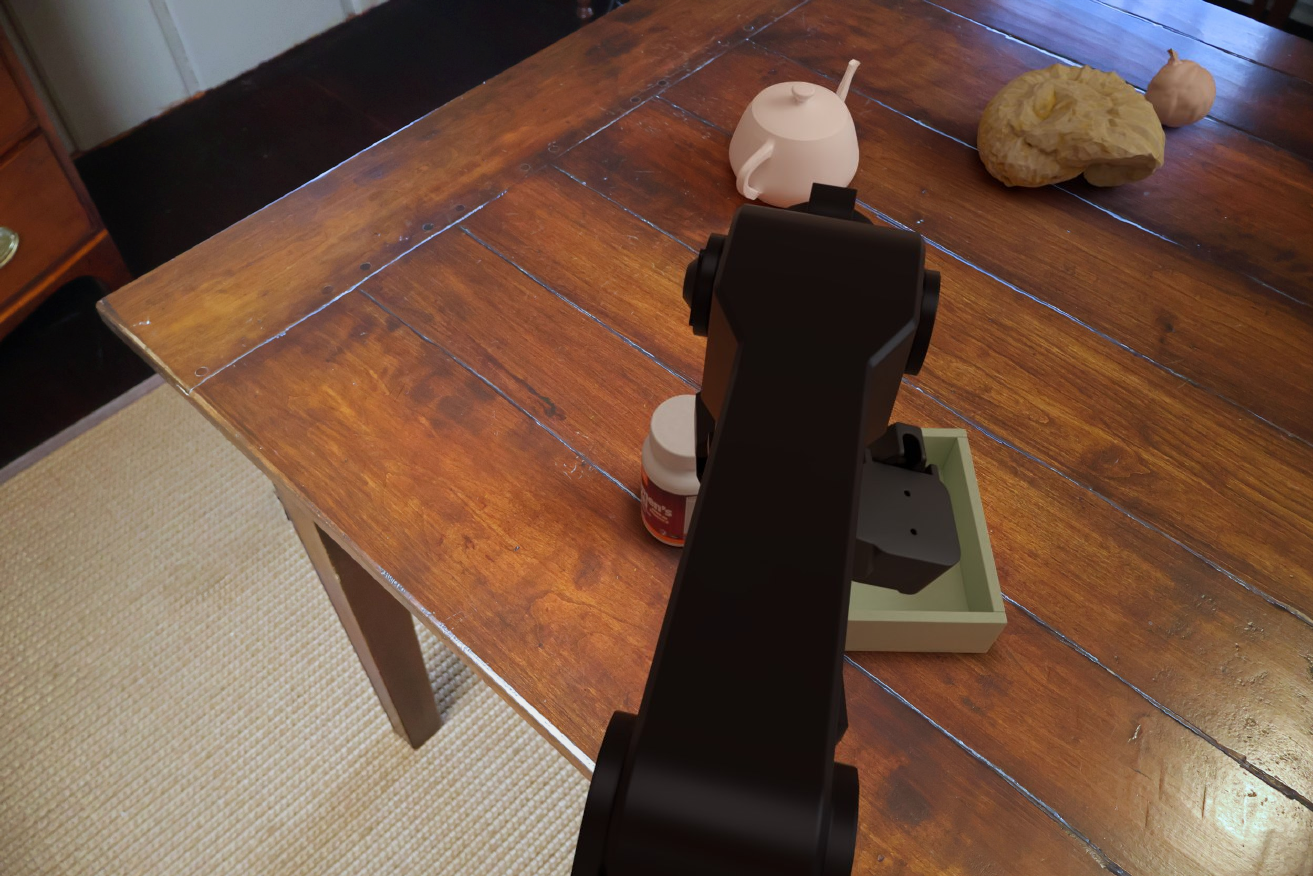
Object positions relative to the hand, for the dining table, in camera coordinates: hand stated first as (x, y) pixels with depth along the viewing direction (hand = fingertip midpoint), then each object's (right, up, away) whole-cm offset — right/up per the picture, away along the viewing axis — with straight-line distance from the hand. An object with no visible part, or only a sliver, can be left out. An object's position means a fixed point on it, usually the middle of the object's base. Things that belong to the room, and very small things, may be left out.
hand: (746, 623), depth 53 cm
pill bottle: (-3, +4, +19) cm, 20 cm away
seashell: (+35, +36, +43) cm, 66 cm away
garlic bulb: (+49, +43, +48) cm, 81 cm away
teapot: (+9, +36, +42) cm, 56 cm away
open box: (+11, +2, +18) cm, 21 cm away
